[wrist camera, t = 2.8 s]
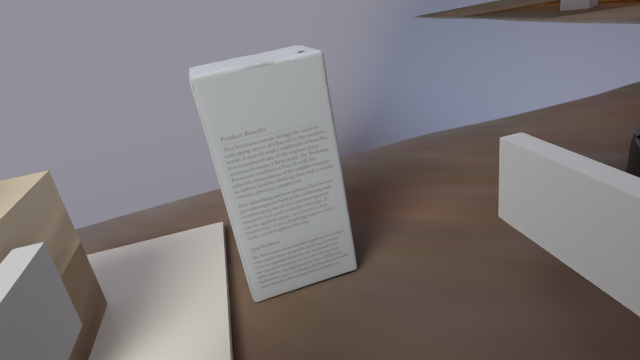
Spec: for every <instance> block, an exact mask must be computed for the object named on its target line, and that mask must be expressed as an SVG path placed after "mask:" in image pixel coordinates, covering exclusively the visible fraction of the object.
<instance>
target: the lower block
mask: <svg viewBox="0 0 640 360" xmlns="http://www.w3.org/2000/svg"><path fill="white" fill-rule="evenodd" d="M61 279H62V282H63V284H64V286H65V288H66V290H67V292H68V295H69V297H70V299H71V301H72V303H73V305H74V308H75V310H76V312H77V314H78V316H79V318H80V321H81V323H82V328H81V330H80V333H79V335H78V337H77V340H76V342H75V345H74V347H73V350H72V352H71V355H70V357H69V359H68V360H88V359H89V356H90V354H91V351H92V348H93V345H94V342H95V339H96V336H97V333H98V330H99V328H100V325H101V322H102V319H103V316H104V313H105V310H106V307H107V305H108V303H107V301H106V299H105V296H104V294H103V292H102V290H101V287H100V285H99V283H98V281H97V278H96V276H95V274H94V272H93V269H92V267H91V265H90V262H89V260H88V258H87V256H86V253H85V251H84V249H83V247H82V244H81V242H80V243H79V245H78V247H77V249H76V251H75V252H74V254H73V256H72V258H71V260H70V261H69V263H68V265H67V267H66V269H65V270H64V272H63V274H62V276H61Z"/></svg>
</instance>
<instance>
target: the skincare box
mask: <svg viewBox="0 0 640 360" xmlns="http://www.w3.org/2000/svg"><path fill="white" fill-rule="evenodd" d="M189 82H190V86H191V89H192V93H193V95H194V99H195V102H196V106H197V109H198V112H199V116H200V119H201V122H202V126H203V129H204V132H205V136H206V139H207V142H208V145H209V149H210V152H211V156H212V159H213V163H214V166H215V170H216V173H217V177H218V180H219V184H220V187H221V191H222V194H223V198H224V201H225V205H226V208H227V212H228V215H229V219H230V222H231V226H232V229H233V233H234V236H235V240H236V243H237V247H238V250H239V254H240V257H241V260H242V264H243V267H244V271H245V274H246V278H247V281H248V285H249V288H250V292H251V295H252V298H253V300H254V301H255V302H260V301H263V300H266V299H269V298H271V297H274V296H277V295H281V294H284V293H287V292H290V291H292V290H295V289H298V288H301V287H304V286H308V285H311V284H313V283H316V282H319V281H322V280H326V279H329V278H332V277H335V276H338V275H340V274H343V273H347V272H350V271H353V270H356V269H357V262H356V255H355V249H354V242H353V237H352V231H351V224H350V218H349V212H348V206H347V199H346V192H345V186H344V180H343V174H342V167H341V161H340V156H339V150H338V143H337V137H336V131H335V125H334V118H333V112H332V107H331V100H330V95H329V89H328V83H327V75H326V69H325V61H324V54H323V52H322V51H320V50H317V49H312V48H309V47H305V46H301V45H296V46H291V47H287V48H282V49H277V50H273V51H269V52H265V53H259V54H255V55H249V56H244V57H239V58H234V59H228V60H224V61H220V62H214V63H210V64H205V65H200V66H196V67H191V68H189Z"/></svg>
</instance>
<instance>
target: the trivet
mask: <svg viewBox="0 0 640 360" xmlns="http://www.w3.org/2000/svg"><path fill="white" fill-rule="evenodd" d="M86 256H87V258H88V260H89V262H90V265H91V267H92V269H93V272H94V274H95V276H96V278H97V281H98V283H99V285H100V287H101V290H102V292H103V294H104V296H105V299H106V301H107V303H108V305H107V307H106V310H105V313H104V316H103V319H102V322H101V325H100V328H99V330H98V333H97V336H96V339H95V342H94V345H93V348H92V351H91V354H90V356H89V359H88V360H233V346H232V331H231V316H230V300H229V285H228V270H227V254H226V239H225V228H224V224H223V222H219V223H215V224H211V225H207V226H203V227H199V228H195V229H191V230H187V231H183V232H179V233H175V234H171V235H167V236H163V237H159V238H154V239H150V240H146V241H142V242H138V243H134V244H130V245H126V246H122V247H118V248H114V249H110V250H106V251H102V252H98V253H94V254H90V255H86Z"/></svg>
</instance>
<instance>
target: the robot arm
mask: <svg viewBox="0 0 640 360" xmlns="http://www.w3.org/2000/svg"><path fill="white" fill-rule="evenodd" d="M499 217H500V218H501V219H503V220H504V221H506V222H507V223H508V224H510V225H511V226H513V227H514V228H515V229H517V230H518V231H520V232H521V233H522V234H524V235H525V236H527V237H528V238H530V239H531V240H532V241H534V242H535V243H537V244H538V245H539V246H541V247H542V248H544V249H545V250H546V251H548V252H549V253H551V254H552V255H553V256H555V257H556V258H558V259H559V260H561V261H562V262H563V263H565V264H566V265H568V266H569V267H570V268H572V269H573V270H575V271H576V272H577V273H579V274H580V275H582V276H583V277H584V278H586V279H587V280H589V281H590V282H592V283H593V284H594V285H596V286H597V287H599V288H600V289H601V290H603V291H604V292H606V293H607V294H608V295H610V296H611V297H613V298H614V299H615V300H617V301H618V302H620V303H621V304H623V305H624V306H625V307H627V308H628V309H630V310H631V311H632V312H634V313H635V314H637V315H638V316H639V317H640V127H639V128H638V129H637V131H636V132H635V134H634V136H633V138H632V141H631V144H630V151H629V158H628V165H627V173H626V172H623V171H621V170H618V169H616V168H613V167H610V166H608V165H605V164H603V163H600V162H597V161H595V160H592V159H590V158H587V157H584V156H582V155H579V154H577V153H574V152H572V151H569V150H566V149H564V148H561V147H559V146H556V145H553V144H551V143H548V142H546V141H543V140H540V139H538V138H535V137H533V136H530V135H527V134H525V133H517V134H513V135H509V136H504V137H500V158H499ZM81 328H82V323H81V321H80V318H79V316H78V314H77V312H76V310H75V308H74V305H73V303H72V301H71V299H70V297H69V295H68V292H67V290H66V288H65V286H64V284H63V282H62V279H61V277H60V275H59V273H58V271H57V268H56V266H55V264H54V262H53V260H52V258H51V255H50V253H49V251H48V249H47V247H46V245H45V242H42V243H38V244H33V245H29V246H25V247H20V248H16V249H12V250H11V252H10V253H9V254H8V255H7V256H6V258H5V259H4V260H3V261H2V262H1V264H0V360H68V359H69V357H70V355H71V352H72V350H73V347H74V345H75V342H76V340H77V337H78V335H79V333H80V330H81Z"/></svg>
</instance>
